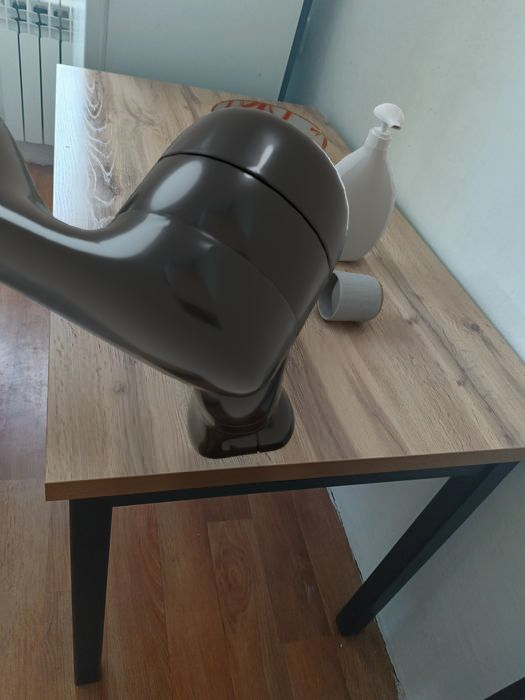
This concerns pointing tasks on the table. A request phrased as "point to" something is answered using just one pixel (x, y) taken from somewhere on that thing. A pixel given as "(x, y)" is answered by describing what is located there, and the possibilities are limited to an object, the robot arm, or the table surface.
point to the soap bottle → (369, 185)
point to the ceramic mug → (351, 297)
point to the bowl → (282, 113)
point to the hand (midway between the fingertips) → (213, 233)
